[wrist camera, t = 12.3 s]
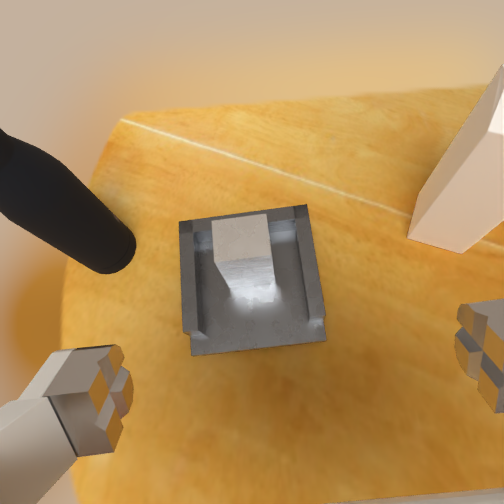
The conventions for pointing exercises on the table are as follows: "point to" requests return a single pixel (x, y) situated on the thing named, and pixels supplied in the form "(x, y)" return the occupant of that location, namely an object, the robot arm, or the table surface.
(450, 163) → the milk
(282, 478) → the table surface
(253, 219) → the block
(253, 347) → the bracket
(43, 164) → the black water bottle
